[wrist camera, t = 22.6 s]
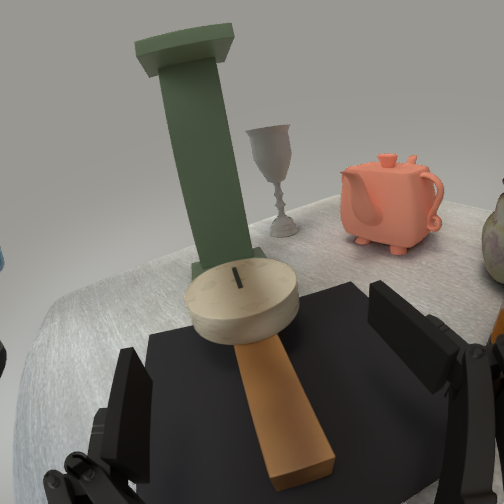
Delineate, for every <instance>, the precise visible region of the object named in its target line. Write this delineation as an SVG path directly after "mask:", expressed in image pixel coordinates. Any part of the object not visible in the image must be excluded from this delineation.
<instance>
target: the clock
mask: <svg viewBox="0 0 504 504" xmlns="http://www.w3.org/2000/svg"><path fill="white" fill-rule="evenodd" d="M184 301H185V304H186V307H187V310H188V313H189V315H190V318H191V321H192V323H193V326H194V328H195V330H196V331H197V332H198V333H199V334H200V335H201V336H202V337H204V338H205V339H207V340H209V341H212V342H215V343H220V344H227V345H234V349H235V353H236V357H237V361H238V365H239V369H240V373H241V377H242V381H243V385H244V389H245V393H246V397H247V400H248V404H249V408H250V412H251V415H252V419H253V423H254V426H255V430H256V434H257V437H258V441H259V444H260V448H261V451H262V454H263V458H264V461H265V465H266V468H267V471H268V475H269V478H270V480H271V482H272V484H273V486H274V488H275V490H276V491H281V490H285V489H288V488H292V487H295V486H299V485H302V484H305V483H308V482H311V481H314V480H317V479H320V478H323V477H325V476H328V475H331V474H332V471H333V467H334V462H335V454H334V452H333V450H332V448H331V446H330V444H329V442H328V440H327V438H326V436H325V433H324V431H323V429H322V427H321V425H320V423H319V421H318V419H317V417H316V415H315V413H314V410H313V408H312V406H311V404H310V402H309V400H308V398H307V396H306V394H305V392H304V389H303V387H302V385H301V383H300V381H299V379H298V377H297V375H296V372H295V370H294V368H293V366H292V364H291V362H290V360H289V358H288V355H287V353H286V351H285V349H284V347H283V345H282V343H281V340H280V338H279V336H278V334H277V333H278V332H280V331H281V330H283V329H284V328H285V327H286V326H288V325H289V324H290V323H291V321H292V320H293V319H294V318H295V316H296V314H297V312H298V309H299V294H298V285H297V277H296V273H295V272H294V270H293V269H292V268H291V267H290V266H289V265H287V264H285V263H283V262H280V261H277V260H273V259H265V258H250V259H242V260H236V261H232V262H228V263H225V264H222V265H219V266H216V267H214V268H212V269H210V270H208V271H206V272H204V273H203V274H201V275H199V276H198V277H197V278H196V279H194V280H193V281H192V282H191V284H190V285H189V286H188V288H187V289H186V292H185V296H184Z"/></svg>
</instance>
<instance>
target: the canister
mask: <svg viewBox="0 0 504 504" xmlns="http://www.w3.org/2000/svg"><path fill="white" fill-rule="evenodd" d="M500 334H504V299H503V302H502V305H501V308H500V311H499V314H498V317H497V320H496V322H495V325H494V328H493V331H492V333H491V335H490V338H489V340H488V343H487V345H486V346H488V345H491V344H493V343H494V342H495V340H496V338H497V336H498V335H500ZM502 376H503V377H504V374H503V372H502Z"/></svg>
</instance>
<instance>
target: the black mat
mask: <svg viewBox="0 0 504 504" xmlns="http://www.w3.org/2000/svg"><path fill="white" fill-rule="evenodd" d="M368 305H369V298H368V297H367V296H366V295H365V294H364V293H363V292H362V291H361V290H360V289H358V288H357V287H356V286H355V285H354V284H353V283H352V282H347V283H344V284H341V285H338V286H335V287H332V288H329V289H325V290H322V291H319V292H316V293H312V294H309V295H306V296H302V297H299V309H298V312H297V314H296V316H295V318H294V319H293V320H292V321H291V323H290V324H289V325H288V326H286V327H285V328H284V329H283V330H281V331H280V332H278V333H277V334H278V336H279V338H280V340H281V343H282V345H283V347H284V349H285V351H286V353H287V355H288V358H289V360H290V362H291V364H292V366H293V368H294V370H295V372H296V375H297V377H298V379H299V381H300V383H301V385H302V387H303V389H304V392H305V394H306V396H307V398H308V400H309V402H310V404H311V406H312V408H313V410H314V413H315V415H316V417H317V419H318V421H319V423H320V425H321V427H322V429H323V431H324V433H325V436H326V438H327V440H328V442H329V444H330V446H331V448H332V450H333V452H334V454H335V462H334V467H333V471H332V474H331V475H328V476H325V477H323V478H320V479H317V480H314V481H311V482H308V483H305V484H302V485H299V486H295V487H292V488H288V489H285V490H281V491H276V490H275V488H274V486H273V484H272V482H271V480H270V478H269V475H268V471H267V468H266V465H265V461H264V458H263V454H262V451H261V448H260V444H259V441H258V437H257V434H256V430H255V426H254V423H253V419H252V415H251V412H250V408H249V404H248V400H247V397H246V393H245V389H244V385H243V381H242V377H241V373H240V369H239V365H238V361H237V357H236V353H235V349H234V345H227V344H220V343H215V342H212V341H209V340H207V339H205V338H204V337H202V336H201V335H200V334H199V333H198V332H197V331H196V330H195V328H194V326H193V325H192V326H188V327H183V328H179V329H174V330H170V331H165V332H160V333H156V334H151V335H149V341H148V348H147V355H146V362H145V369H146V370H147V372H148V374H149V375H150V377H151V379H152V380H153V389H152V404H151V425H150V484H136V494H137V495H138V496H139V497H140V498H141V499H142V500H143V501H144V502H145V503H146V504H400V503H402V502H403V501H405V500H407V499H408V498H410V497H412V496H413V495H415V494H416V493H418V492H420V491H421V490H423V489H424V488H426V487H427V486H429V485H430V484H432V483H433V482H434V481H436V480H437V479H439V478H440V474H441V469H442V463H443V457H444V450H445V442H446V432H447V421H448V402H449V393H448V394H447V396H446V397H444V396H445V393H446V391H447V389H448V387H449V385H450V382H449V381H448V380H447V381H446V383H445V385H444V387H443V388H442V389H440V390H439V391H437V392H436V393H434V394H433V395H432V394H431V393H430V392H429V391H428V389H427V388H426V387H425V386H424V385H423V384H422V382H421V381H420V380H419V379H418V378H417V377H416V376H415V374H414V373H413V372H412V371H411V370H410V369H409V368H408V366H407V365H406V364H405V363H404V362H403V361H402V360H401V359H400V357H399V356H398V355H397V354H396V353H395V352H394V351H393V350H392V349H391V347H390V346H389V345H388V344H387V343H386V342H385V341H384V340H383V339H382V338H381V336H380V335H379V334H378V333H377V332H376V331H375V330H374V329H373V328H372V327H371V326H370V325H369V323H368V322H367V319H368Z"/></svg>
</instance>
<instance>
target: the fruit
mask: <svg viewBox="0 0 504 504" xmlns="http://www.w3.org/2000/svg"><path fill="white" fill-rule="evenodd" d="M502 181H503V184H504V179H503V180H502ZM482 251H483V257H484V261H485V265H486V268H487V270H488V272H489V273H490V275H491V276H492V277H493V279H494V280H496V281H497V282H499V283H502V284H504V193H502V194H501V195H500V197H499V199H498V202H497V205H496V209H495V211H494V212H493V213H492V214H491V215H490V216H489V217H488V219H487V220H486V222H485V224H484V227H483V231H482Z"/></svg>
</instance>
